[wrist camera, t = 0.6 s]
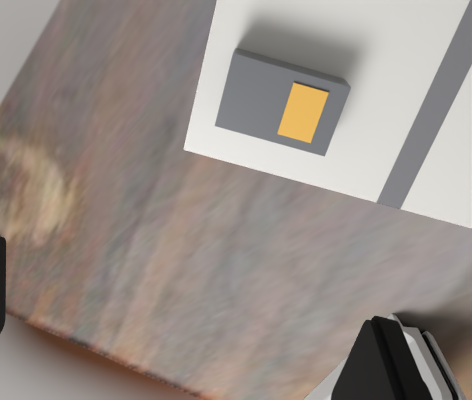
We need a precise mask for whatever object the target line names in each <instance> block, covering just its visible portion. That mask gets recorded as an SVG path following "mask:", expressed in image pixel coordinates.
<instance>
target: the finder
mask: <svg viewBox="0 0 472 400" xmlns="http://www.w3.org/2000/svg"><path fill="white" fill-rule="evenodd" d="M350 89H351V86H350V85H349V84H348V83H347V81H346V80H345V79H343V78H340V77H336V76H333V75H329V74H326V73H322V72H319V71H315V70H312V69H308V68H305V67H301V66H298V65H294V64H291V63H288V62H284V61H281V60H277V59H274V58H270V57H267V56H263V55H260V54H256V53H253V52H249V51H246V50H243V49H239V48H235V50H234V52H233V55H232V59H231V63H230V67H229V71H228V75H227V79H226V83H225V87H224V91H223V94H222V98H221V102H220V106H219V110H218V114H217V118H216V122H215V126H216V127H220V128H223V129H227V130H231V131H234V132H238V133H241V134H245V135H249V136H252V137H256V138H259V139H263V140H267V141H270V142H274V143H277V144H281V145H285V146H288V147H292V148H295V149H299V150H303V151H306V152H310V153H313V154H317V155H321V156H324V157H325V155H326V152H327V150H328V147H329V144H330V142H331V139H332V136H333V134H334V131H335V129H336V126H337V123H338V121H339V118H340V116H341V113H342V110H343V108H344V105H345V103H346V100H347V97H348V95H349V92H350Z"/></svg>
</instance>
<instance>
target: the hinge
mask: <svg viewBox="0 0 472 400" xmlns="http://www.w3.org/2000/svg"><path fill="white" fill-rule="evenodd" d="M387 318H388V319H392V320H396V321H398V322H399V324H400V326H401V328H402V331H403V333H404V336H405V338H406V340H407V343H408V345H409V348H410V350H411V352H412V355H413V357H414V360H415V362H416V365H417V367H418V369H419V372H420V374H421V377H422V379H423V381H424V382H425V383H426V385H427V387H428V389H429V391H430V393H431V396H432V398H433V400H466V397H465V395H464V393H463V391H462V390H461V388H460V386H459V384H458V382H457V380H456V378H455V376H454V375H453V373H452V371H451V369H450V367H449V365H448V363H447V362H446V360H445V358H444V356H443V354H442V352H441V350H440V348H439V347H438V345H437V343H436V341H435V339H434V337H433V335H431V334H430V333H429V332H428V331H425V332H424V333H423V334H422V335H421V333H420V332H419V330H418V328H412V327H403V325H402V324H401V322H400V321H399V319H398V318H397V316H396V315H394V314H390V315H389V316H388V317H387ZM348 356H349V355H348ZM348 356H347V357H346V358H345V359H344V360H343V361H342V362H341V363H340V364H339V365H338V366H337V367H336V368H335V369H334V370H333V371H332V372H331V373H330V374H329V375H328V376H327V377H326V378H325V379H324V380H323V381H322V382H321V383H320V384H319V385H318V386H317V387H316V388H315V389H313V390H312V391H311V392H310V393H309V394H308V395H307V396H306V397H305V398H304V399H303V400H331V394H332V391H333V388H334V386H335V384H336V382H337V380H338V378H339V375H340V373H341V371H342V369H343V367H344V365H345V362H346V360H347V358H348Z"/></svg>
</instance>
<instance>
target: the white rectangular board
mask: <svg viewBox="0 0 472 400" xmlns="http://www.w3.org/2000/svg"><path fill="white" fill-rule="evenodd" d="M235 48H239V49H243V50H246V51H249V52H253V53H256V54H260V55H263V56H267V57H270V58H274V59H277V60H281V61H284V62H288V63H291V64H294V65H298V66H301V67H305V68H308V69H312V70H315V71H319V72H322V73H326V74H329V75H333V76H336V77H340V78H343V79H345V80H346V81H347V83H348V84H349V85H350V86H351V89H350V92H349V95H348V97H347V100H346V103H345V105H344V108H343V110H342V113H341V116H340V118H339V121H338V123H337V126H336V129H335V131H334V134H333V136H332V139H331V142H330V144H329V147H328V150H327V152H326V155H325V157H324V156H321V155H317V154H313V153H310V152H306V151H303V150H299V149H295V148H292V147H288V146H285V145H281V144H277V143H274V142H270V141H267V140H263V139H259V138H256V137H252V136H249V135H245V134H241V133H238V132H234V131H231V130H227V129H223V128H220V127H216V126H215V122H216V118H217V114H218V110H219V106H220V102H221V98H222V94H223V91H224V87H225V83H226V79H227V75H228V71H229V67H230V63H231V59H232V55H233V52H234V50H235ZM184 150H186V151H190V152H194V153H197V154H201V155H204V156H208V157H212V158H215V159H219V160H223V161H226V162H230V163H234V164H237V165H241V166H245V167H248V168H252V169H256V170H259V171H263V172H267V173H270V174H274V175H278V176H281V177H285V178H289V179H292V180H296V181H300V182H303V183H307V184H311V185H314V186H318V187H322V188H325V189H329V190H333V191H336V192H340V193H344V194H347V195H351V196H355V197H358V198H362V199H366V200H369V201H373V202H376V203H379V204H382V205H386V206H390V207H393V208H397V209H402V210H406V211H410V212H413V213H417V214H421V215H424V216H428V217H432V218H435V219H439V220H443V221H446V222H450V223H454V224H457V225H461V226H465V227H468V228H472V0H217V3H216V7H215V12H214V16H213V21H212V25H211V30H210V34H209V38H208V43H207V47H206V52H205V56H204V61H203V65H202V70H201V74H200V78H199V83H198V87H197V92H196V96H195V101H194V105H193V110H192V114H191V119H190V123H189V127H188V132H187V136H186V141H185V145H184Z"/></svg>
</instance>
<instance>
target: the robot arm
mask: <svg viewBox="0 0 472 400" xmlns="http://www.w3.org/2000/svg"><path fill="white" fill-rule="evenodd" d="M5 297H6V240H5V238H4V237H0V333H1V331H2V329H3V327H4V323H5ZM331 400H433V398H432V396H431V393H430V391H429V389H428V387H427V385H426V383H425V382H424V381H423V379H422V377H421V374H420V372H419V369H418V367H417V365H416V362H415V360H414V357H413V355H412V352H411V350H410V348H409V345H408V343H407V340H406V338H405V336H404V333H403V331H402V328H401V326H400V324H399V322H398V321H396V320H392V319H388V318H383V317H379V316H374V317H373V318H372V320H366V321H365V322H364V324H363V326H362V328H361V330H360V332H359V334H358V337H357V339H356V341H355V343H354V345H353V347H352V349H351V352H350V354H349V356H348V358H347V360H346V362H345V365H344V367H343V369H342V371H341V373H340V375H339V378H338V380H337V382H336V384H335V386H334V388H333V391H332V394H331Z"/></svg>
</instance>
